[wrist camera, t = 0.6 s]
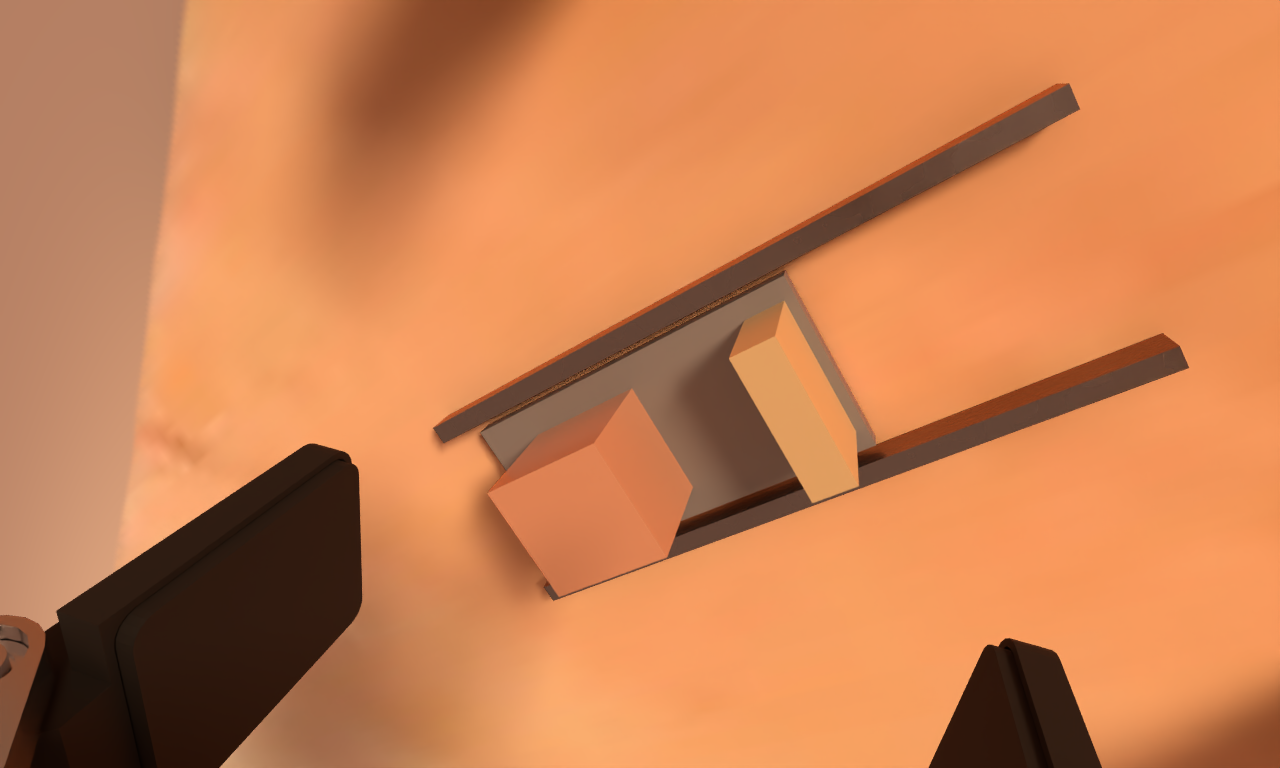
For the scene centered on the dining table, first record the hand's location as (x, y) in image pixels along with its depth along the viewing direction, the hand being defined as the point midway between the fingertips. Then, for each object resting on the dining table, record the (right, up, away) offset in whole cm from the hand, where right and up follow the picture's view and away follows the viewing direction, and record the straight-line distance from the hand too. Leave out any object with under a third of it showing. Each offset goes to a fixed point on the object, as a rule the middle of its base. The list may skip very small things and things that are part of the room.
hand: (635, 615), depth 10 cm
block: (-1, -1, +26) cm, 26 cm away
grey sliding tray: (+1, +1, +26) cm, 26 cm away
